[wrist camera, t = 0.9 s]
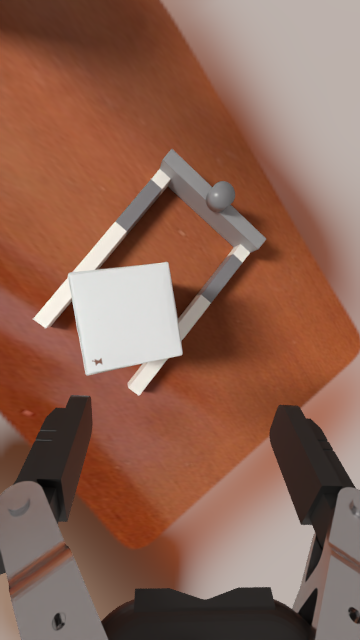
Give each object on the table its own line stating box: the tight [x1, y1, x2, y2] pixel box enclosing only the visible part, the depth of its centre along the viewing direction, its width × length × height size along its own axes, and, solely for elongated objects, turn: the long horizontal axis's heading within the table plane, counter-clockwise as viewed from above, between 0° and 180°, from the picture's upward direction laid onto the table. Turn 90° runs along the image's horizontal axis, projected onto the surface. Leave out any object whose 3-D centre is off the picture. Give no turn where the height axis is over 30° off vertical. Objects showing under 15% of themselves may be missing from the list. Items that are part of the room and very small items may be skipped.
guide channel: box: [34, 149, 266, 395], centre depth 30 cm, size 14×22×6 cm, turn 142°
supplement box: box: [68, 262, 183, 375], centre depth 27 cm, size 7×7×13 cm
